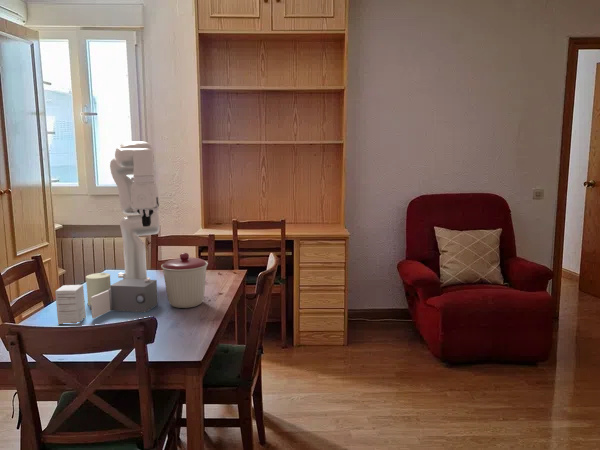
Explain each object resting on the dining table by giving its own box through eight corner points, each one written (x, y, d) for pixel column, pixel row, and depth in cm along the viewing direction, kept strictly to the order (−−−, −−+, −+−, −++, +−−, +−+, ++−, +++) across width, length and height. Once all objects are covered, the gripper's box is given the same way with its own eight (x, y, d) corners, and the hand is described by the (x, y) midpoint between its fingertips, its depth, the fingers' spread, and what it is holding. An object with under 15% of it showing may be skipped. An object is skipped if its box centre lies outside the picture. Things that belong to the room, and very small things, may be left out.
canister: (160, 301, 197) (157, 250, 194) (204, 295, 204) (202, 247, 201) (166, 314, 180) (163, 259, 177) (214, 308, 187) (212, 255, 184)
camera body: (110, 311, 184) (108, 284, 182) (125, 302, 195) (123, 276, 193) (145, 313, 181) (143, 285, 180) (158, 304, 192) (157, 278, 191)
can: (117, 300, 197) (115, 272, 195) (101, 307, 189) (98, 278, 187) (98, 298, 200) (96, 270, 198) (82, 305, 192) (80, 276, 190)
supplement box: (65, 318, 177) (63, 284, 175) (86, 317, 177) (83, 284, 176) (57, 325, 170) (54, 290, 168) (79, 324, 170) (76, 290, 168)
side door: (109, 309, 185) (108, 288, 184) (113, 310, 184) (111, 288, 183) (90, 318, 175) (89, 296, 174) (94, 318, 175) (92, 296, 173)
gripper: (121, 180, 187) (124, 227, 190) (157, 180, 185) (160, 227, 188) (131, 179, 195) (134, 224, 197) (166, 179, 192) (168, 225, 195)
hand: (146, 225), depth 193 cm, fingers closed
